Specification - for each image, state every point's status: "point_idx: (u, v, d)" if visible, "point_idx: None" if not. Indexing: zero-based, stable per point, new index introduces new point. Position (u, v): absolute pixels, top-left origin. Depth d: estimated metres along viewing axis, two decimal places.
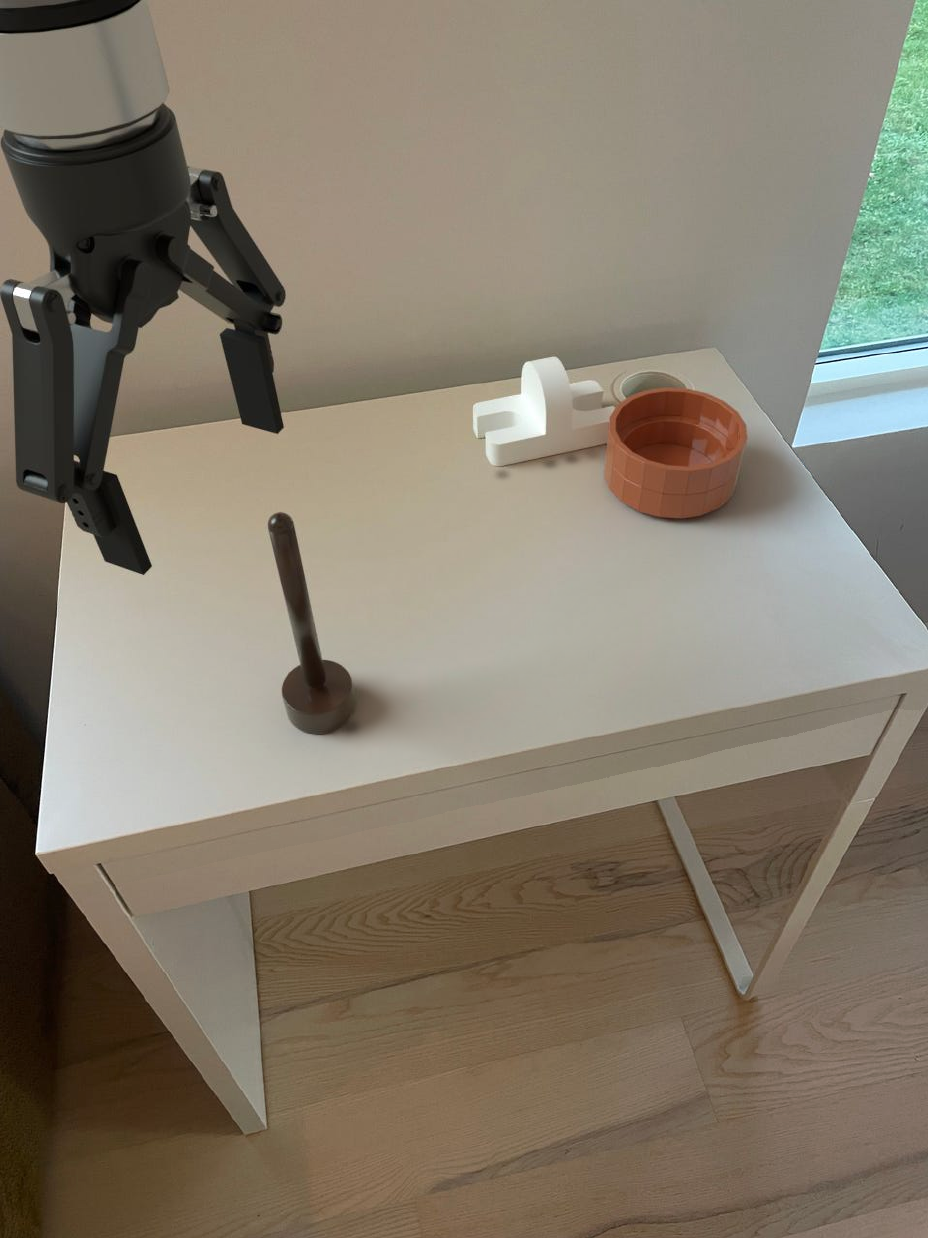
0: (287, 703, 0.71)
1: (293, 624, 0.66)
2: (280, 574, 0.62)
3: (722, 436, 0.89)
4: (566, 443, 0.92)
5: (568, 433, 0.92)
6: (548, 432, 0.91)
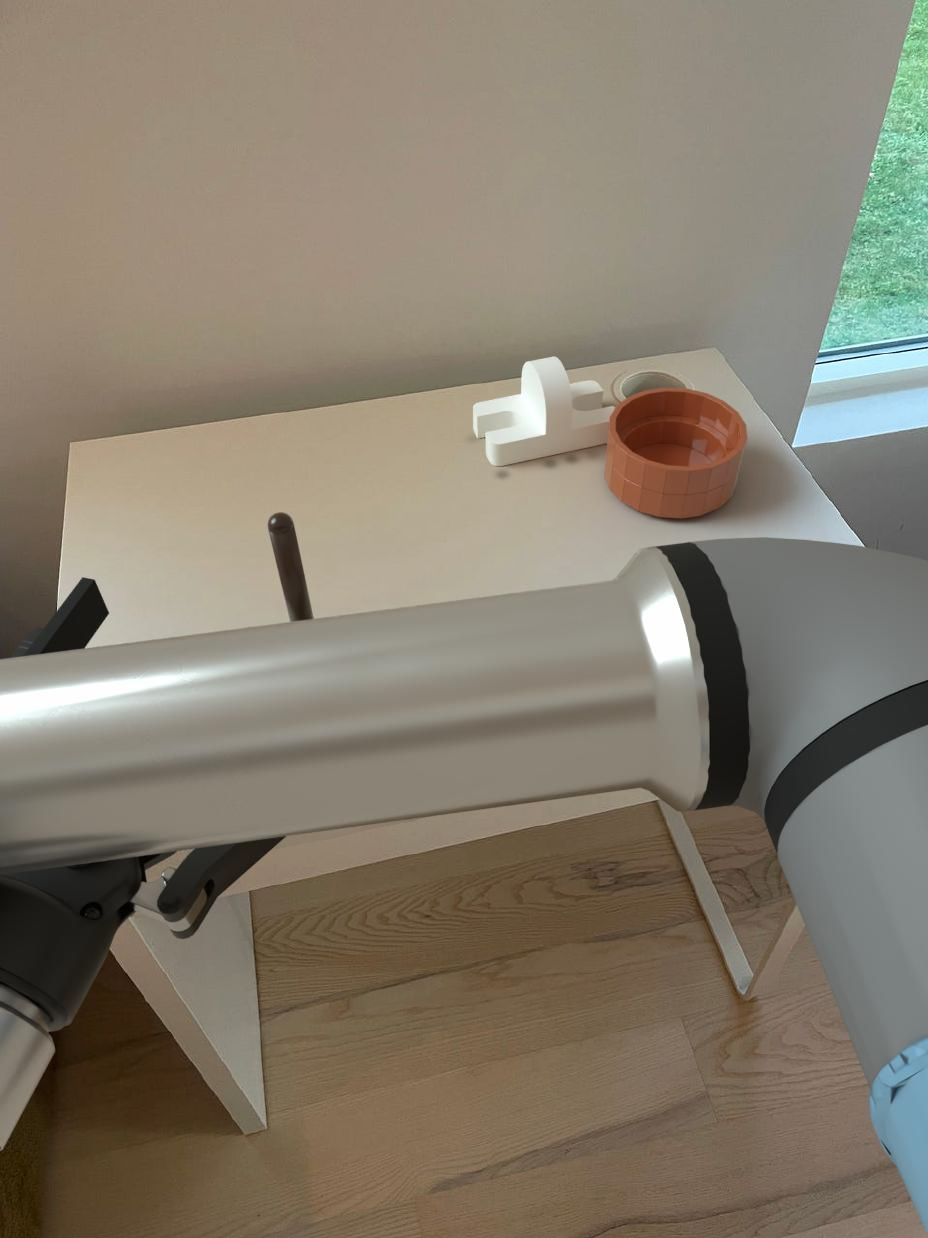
0: None
1: None
2: (280, 574, 0.62)
3: (722, 436, 0.89)
4: (566, 443, 0.92)
5: (568, 433, 0.92)
6: (548, 432, 0.91)
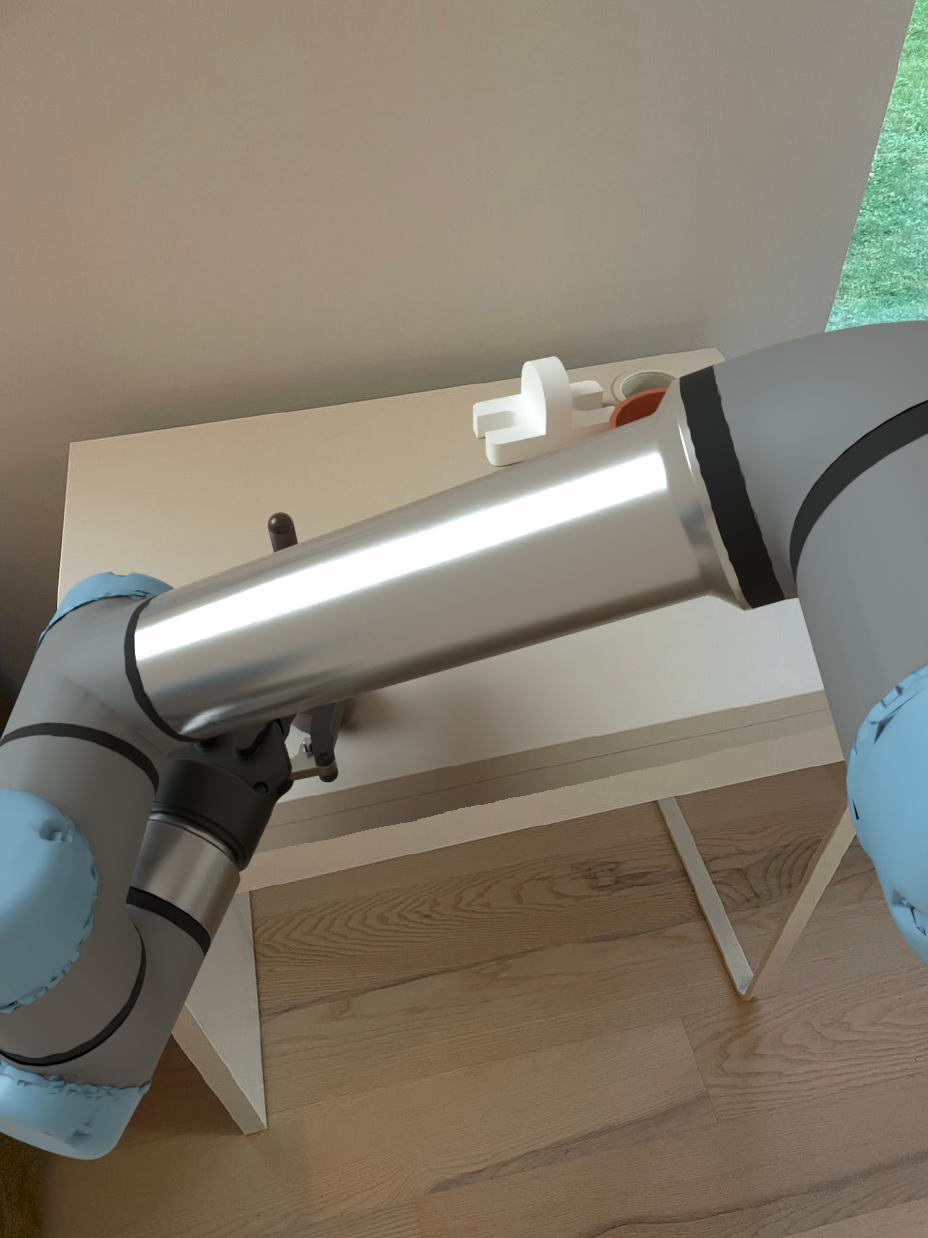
0: None
1: None
2: None
3: None
4: (566, 443, 0.92)
5: (568, 433, 0.92)
6: (548, 432, 0.91)
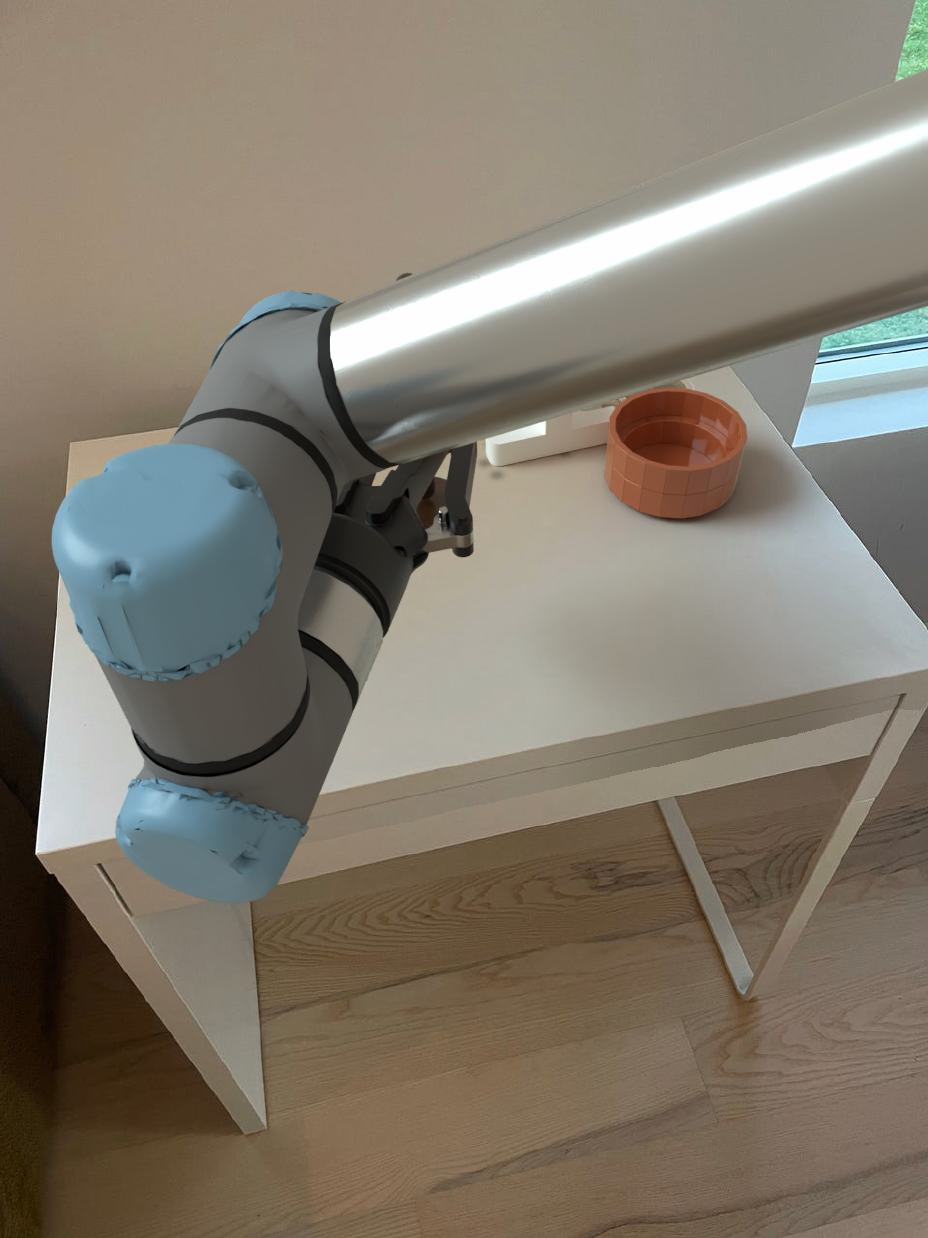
0: None
1: None
2: None
3: (722, 436, 0.89)
4: (566, 443, 0.92)
5: (568, 433, 0.92)
6: (548, 432, 0.91)
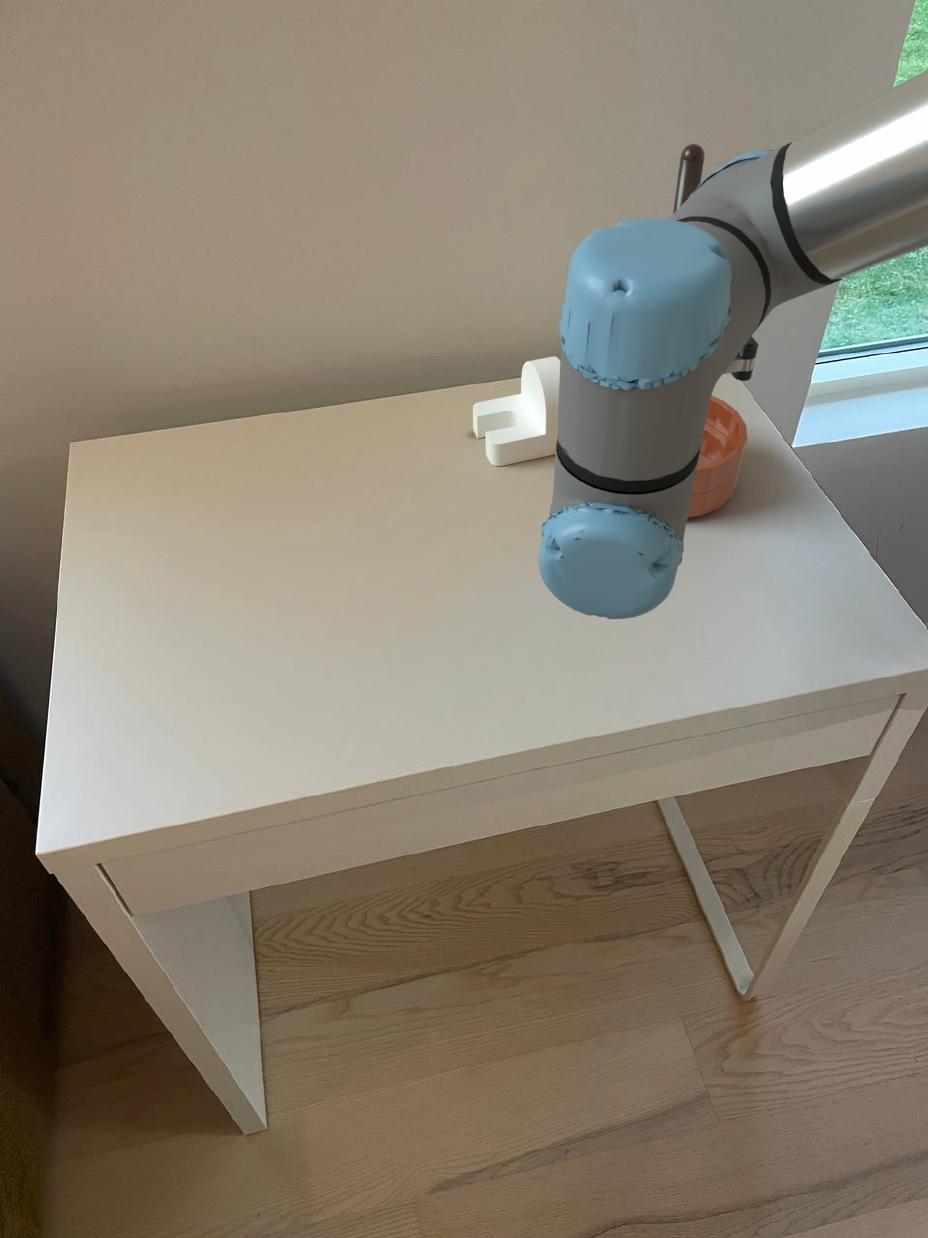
0: None
1: None
2: None
3: (722, 436, 0.89)
4: None
5: None
6: (548, 432, 0.91)
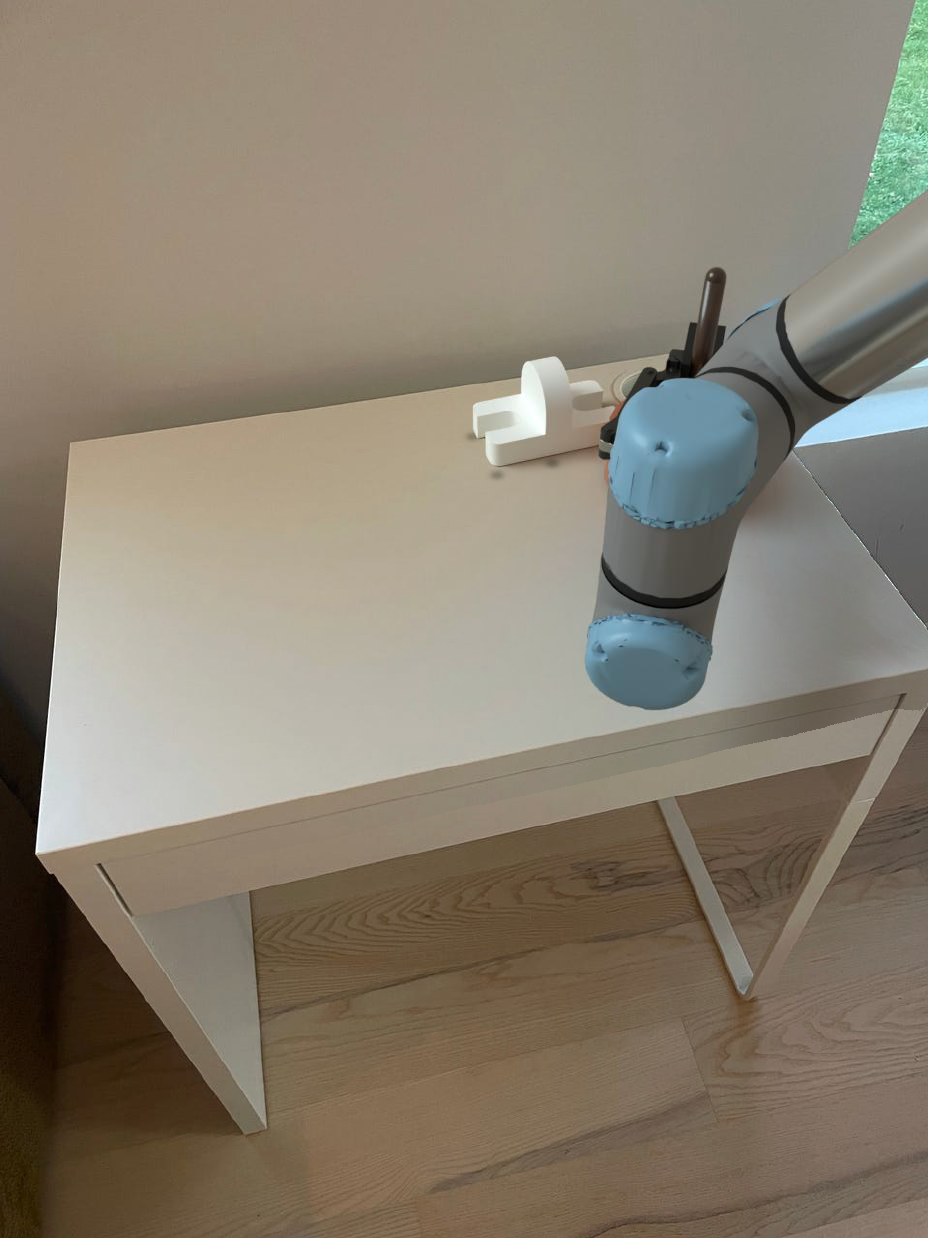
0: None
1: None
2: (702, 325, 0.76)
3: None
4: (566, 443, 0.92)
5: (568, 433, 0.92)
6: (548, 432, 0.91)
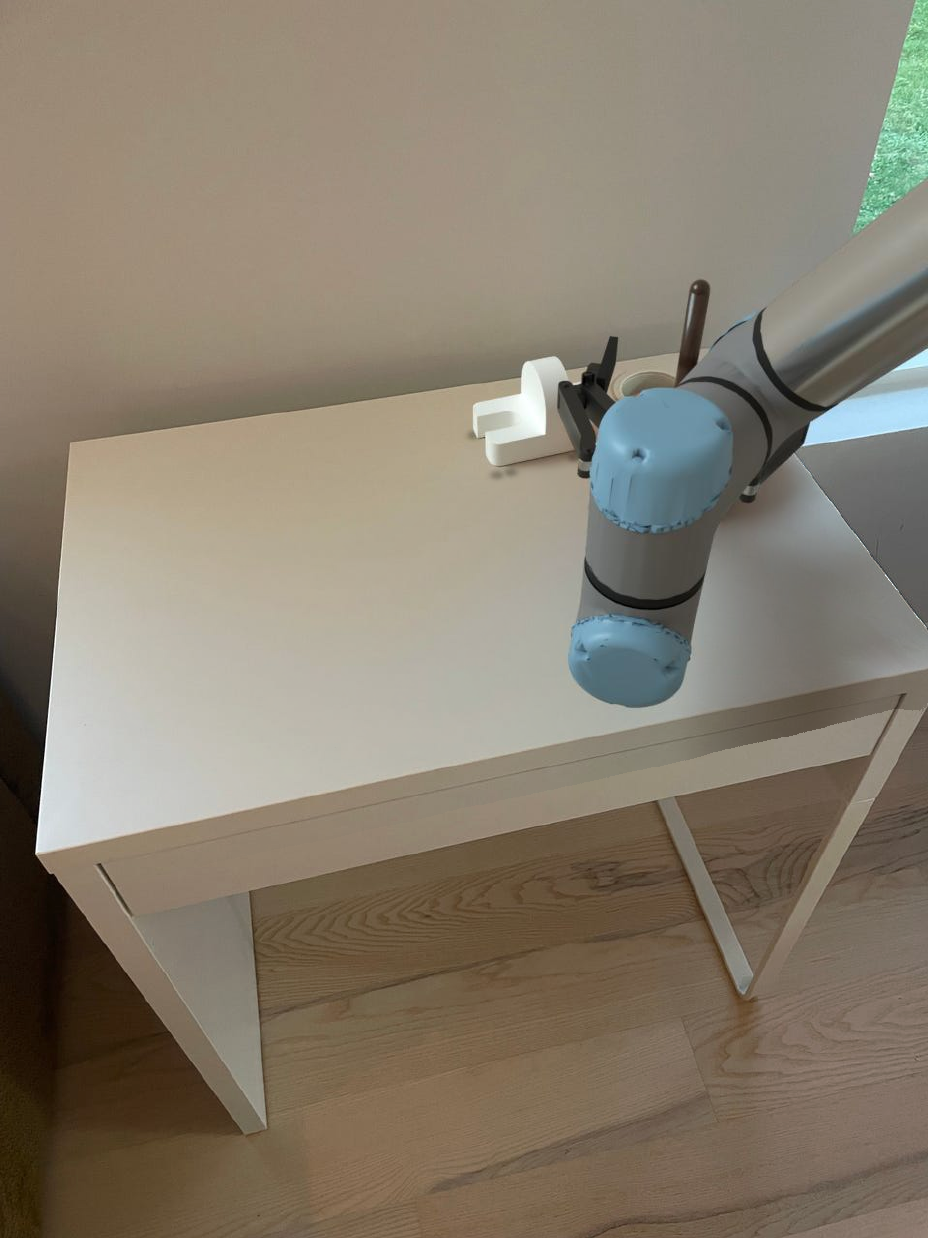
0: None
1: None
2: (687, 335, 0.78)
3: None
4: (566, 443, 0.92)
5: None
6: (548, 432, 0.91)
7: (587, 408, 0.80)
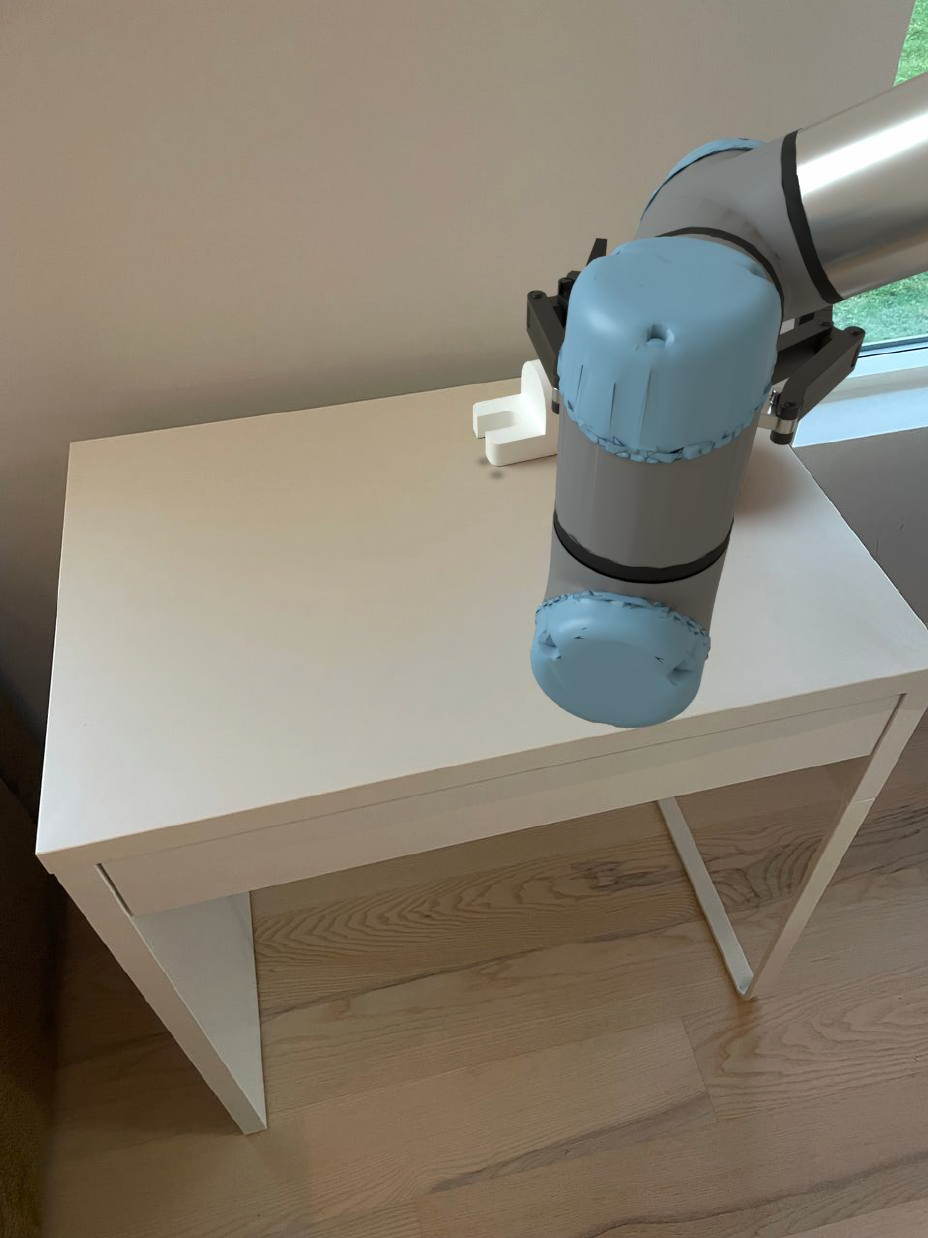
0: None
1: None
2: None
3: None
4: None
5: None
6: (548, 432, 0.91)
7: (566, 327, 0.61)
